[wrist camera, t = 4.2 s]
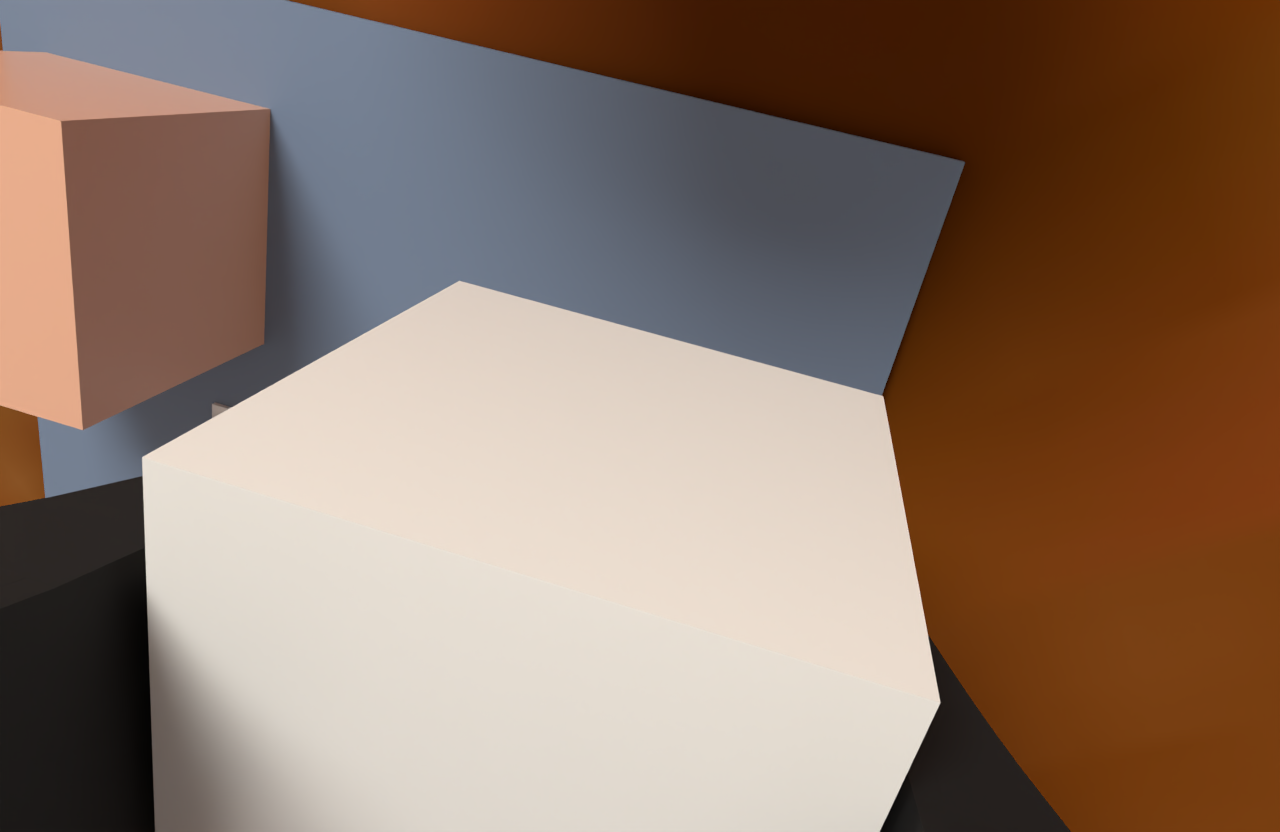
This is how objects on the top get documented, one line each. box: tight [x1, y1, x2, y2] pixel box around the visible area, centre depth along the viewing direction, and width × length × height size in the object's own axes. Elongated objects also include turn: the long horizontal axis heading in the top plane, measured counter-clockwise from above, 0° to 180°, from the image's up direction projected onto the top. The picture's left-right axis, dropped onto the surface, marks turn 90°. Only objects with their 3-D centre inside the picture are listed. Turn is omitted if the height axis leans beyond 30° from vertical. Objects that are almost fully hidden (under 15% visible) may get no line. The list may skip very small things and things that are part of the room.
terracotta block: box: [0, 51, 270, 430], centre depth 16 cm, size 5×5×5 cm
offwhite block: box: [142, 281, 940, 832], centre depth 8 cm, size 5×5×5 cm
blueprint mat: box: [0, 0, 965, 498], centre depth 19 cm, size 17×19×1 cm
